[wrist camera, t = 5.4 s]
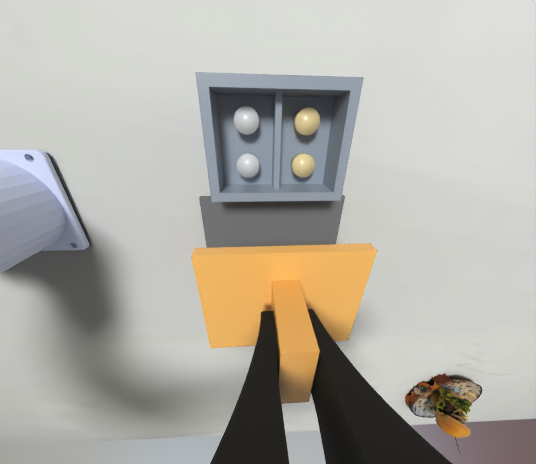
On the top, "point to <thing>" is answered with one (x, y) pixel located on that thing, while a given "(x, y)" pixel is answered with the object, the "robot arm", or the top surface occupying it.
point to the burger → (445, 403)
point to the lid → (282, 300)
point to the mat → (270, 222)
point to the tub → (277, 135)
